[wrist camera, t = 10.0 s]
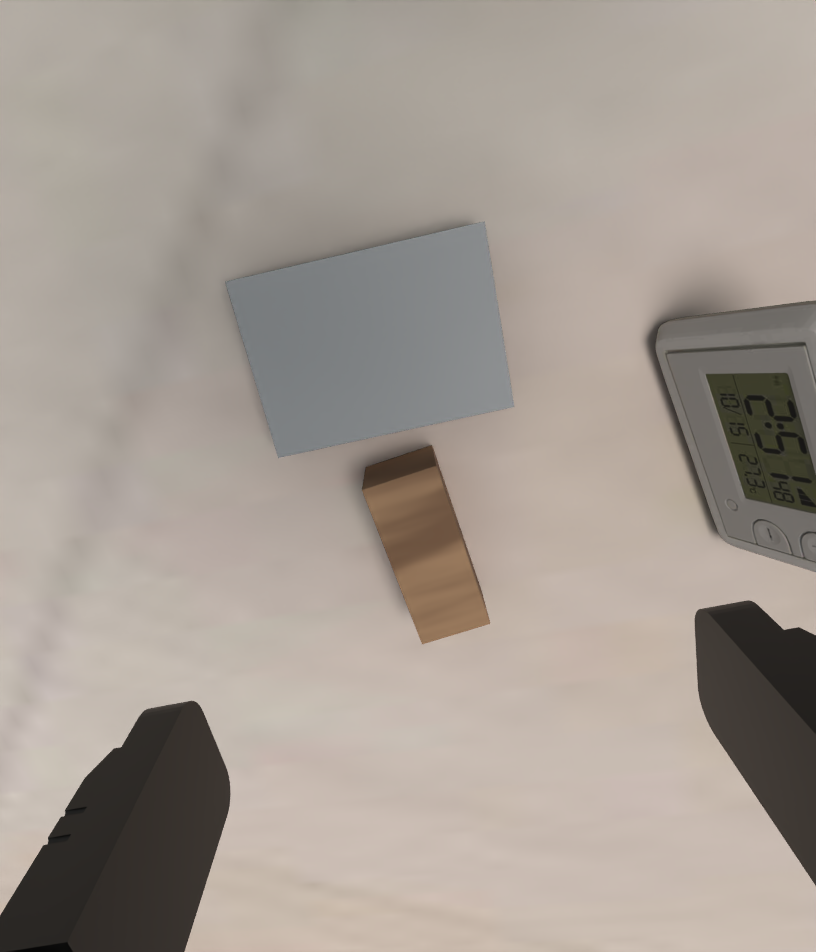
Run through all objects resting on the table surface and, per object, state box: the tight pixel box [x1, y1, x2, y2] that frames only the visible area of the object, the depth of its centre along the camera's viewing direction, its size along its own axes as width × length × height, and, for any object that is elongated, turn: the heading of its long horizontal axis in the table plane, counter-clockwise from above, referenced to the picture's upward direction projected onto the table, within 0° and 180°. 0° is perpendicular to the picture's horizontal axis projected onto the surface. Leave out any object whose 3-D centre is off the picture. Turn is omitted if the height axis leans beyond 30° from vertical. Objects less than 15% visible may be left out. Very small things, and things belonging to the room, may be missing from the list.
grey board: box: [225, 221, 514, 458], centre depth 34 cm, size 10×14×3 cm
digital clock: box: [655, 301, 816, 572], centre depth 32 cm, size 16×9×11 cm, turn 15°
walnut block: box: [362, 445, 490, 644], centre depth 37 cm, size 4×4×11 cm
